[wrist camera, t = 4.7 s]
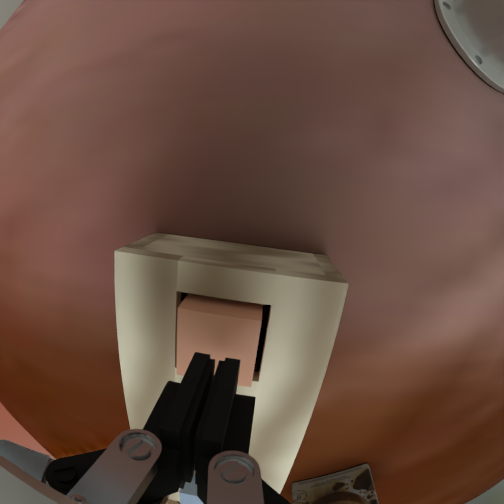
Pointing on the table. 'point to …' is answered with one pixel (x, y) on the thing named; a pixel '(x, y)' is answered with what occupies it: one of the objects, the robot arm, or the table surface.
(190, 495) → the slate-blue key
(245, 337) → the terracotta key
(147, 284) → the key console
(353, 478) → the coffee box
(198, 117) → the table surface
